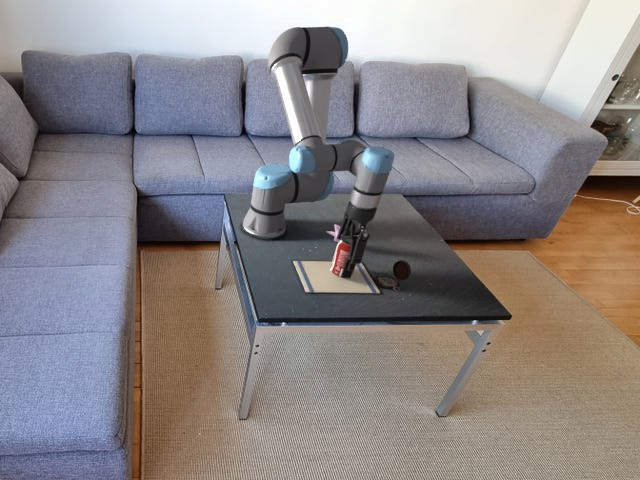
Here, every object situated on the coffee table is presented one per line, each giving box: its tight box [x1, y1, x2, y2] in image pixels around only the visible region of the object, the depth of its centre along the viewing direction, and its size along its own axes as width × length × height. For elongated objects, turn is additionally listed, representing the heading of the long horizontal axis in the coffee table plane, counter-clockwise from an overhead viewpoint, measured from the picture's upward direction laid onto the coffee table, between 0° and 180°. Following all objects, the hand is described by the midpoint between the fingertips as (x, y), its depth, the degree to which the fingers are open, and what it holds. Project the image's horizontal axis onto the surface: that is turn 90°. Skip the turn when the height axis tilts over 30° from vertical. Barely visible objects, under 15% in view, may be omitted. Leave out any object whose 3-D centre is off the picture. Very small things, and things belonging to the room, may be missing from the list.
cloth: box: [292, 260, 381, 295], centre depth 137 cm, size 16×22×1 cm
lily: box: [325, 224, 356, 243], centre depth 147 cm, size 12×12×10 cm
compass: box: [375, 259, 412, 292], centre depth 132 cm, size 8×8×7 cm
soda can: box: [330, 236, 356, 277], centre depth 134 cm, size 7×7×12 cm
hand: (341, 269), depth 137 cm, fingers closed on soda can, 7 cm apart
